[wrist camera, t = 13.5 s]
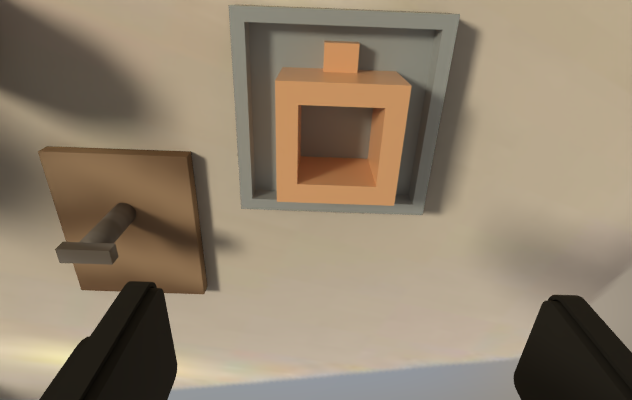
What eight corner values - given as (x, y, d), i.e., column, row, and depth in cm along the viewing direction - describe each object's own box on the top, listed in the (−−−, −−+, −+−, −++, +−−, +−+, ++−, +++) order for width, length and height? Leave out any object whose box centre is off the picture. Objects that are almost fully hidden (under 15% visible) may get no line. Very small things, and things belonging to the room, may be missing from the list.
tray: (416, 201, 29) (422, 215, 27) (246, 195, 28) (241, 208, 27) (449, 13, 23) (460, 14, 21) (235, 4, 23) (228, 5, 21)
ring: (383, 175, 27) (394, 205, 23) (283, 171, 27) (276, 201, 23) (399, 43, 23) (416, 52, 19) (282, 39, 23) (274, 47, 19)
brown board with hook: (207, 286, 32) (182, 348, 27) (88, 282, 32) (37, 343, 27) (191, 151, 27) (155, 193, 21) (47, 146, 27) (-28, 186, 21)
